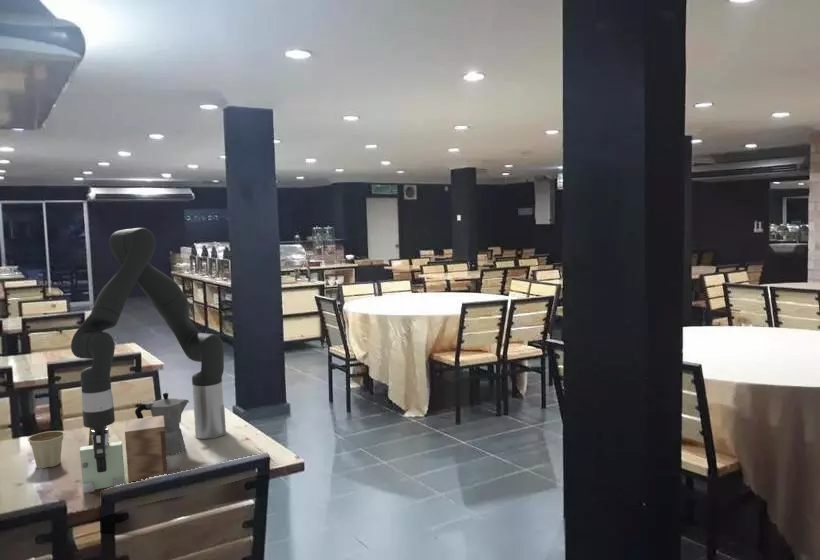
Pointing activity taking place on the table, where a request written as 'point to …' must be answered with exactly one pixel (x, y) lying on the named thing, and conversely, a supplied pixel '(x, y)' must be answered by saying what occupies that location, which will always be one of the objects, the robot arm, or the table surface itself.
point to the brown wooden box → (145, 448)
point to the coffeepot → (168, 420)
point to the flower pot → (47, 448)
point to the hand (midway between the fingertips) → (103, 466)
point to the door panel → (112, 463)
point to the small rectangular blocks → (90, 485)
